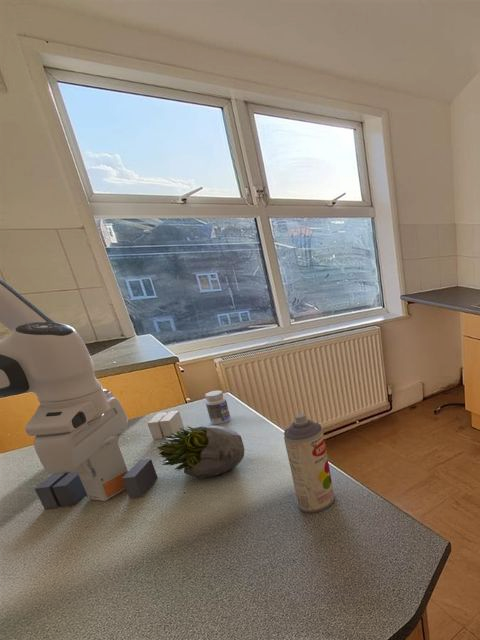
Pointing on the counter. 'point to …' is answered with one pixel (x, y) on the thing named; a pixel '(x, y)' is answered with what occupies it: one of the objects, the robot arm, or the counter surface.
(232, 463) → the potted plant
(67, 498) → the dark grey blocks
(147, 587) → the counter surface
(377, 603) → the counter surface
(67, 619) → the counter surface
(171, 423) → the white blocks
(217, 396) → the pill bottle
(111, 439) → the cosmetic box
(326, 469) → the aerosol can
